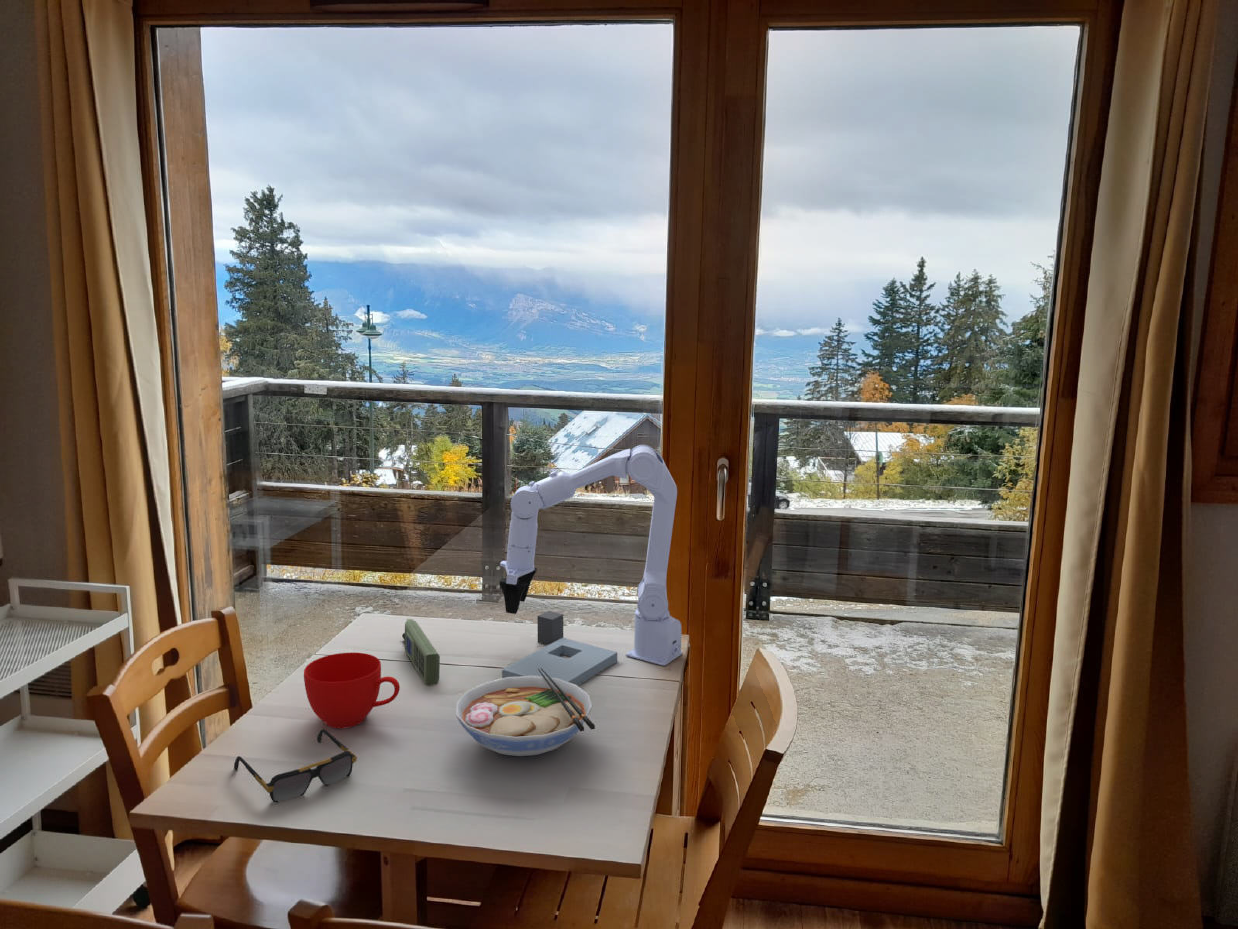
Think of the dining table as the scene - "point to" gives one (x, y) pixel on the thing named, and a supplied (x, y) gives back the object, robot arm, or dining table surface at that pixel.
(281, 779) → the sunglasses
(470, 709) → the ramen bowl
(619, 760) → the dining table surface
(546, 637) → the block
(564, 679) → the socket plate
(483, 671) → the dining table surface
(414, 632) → the handheld radio
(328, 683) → the ceramic cup
